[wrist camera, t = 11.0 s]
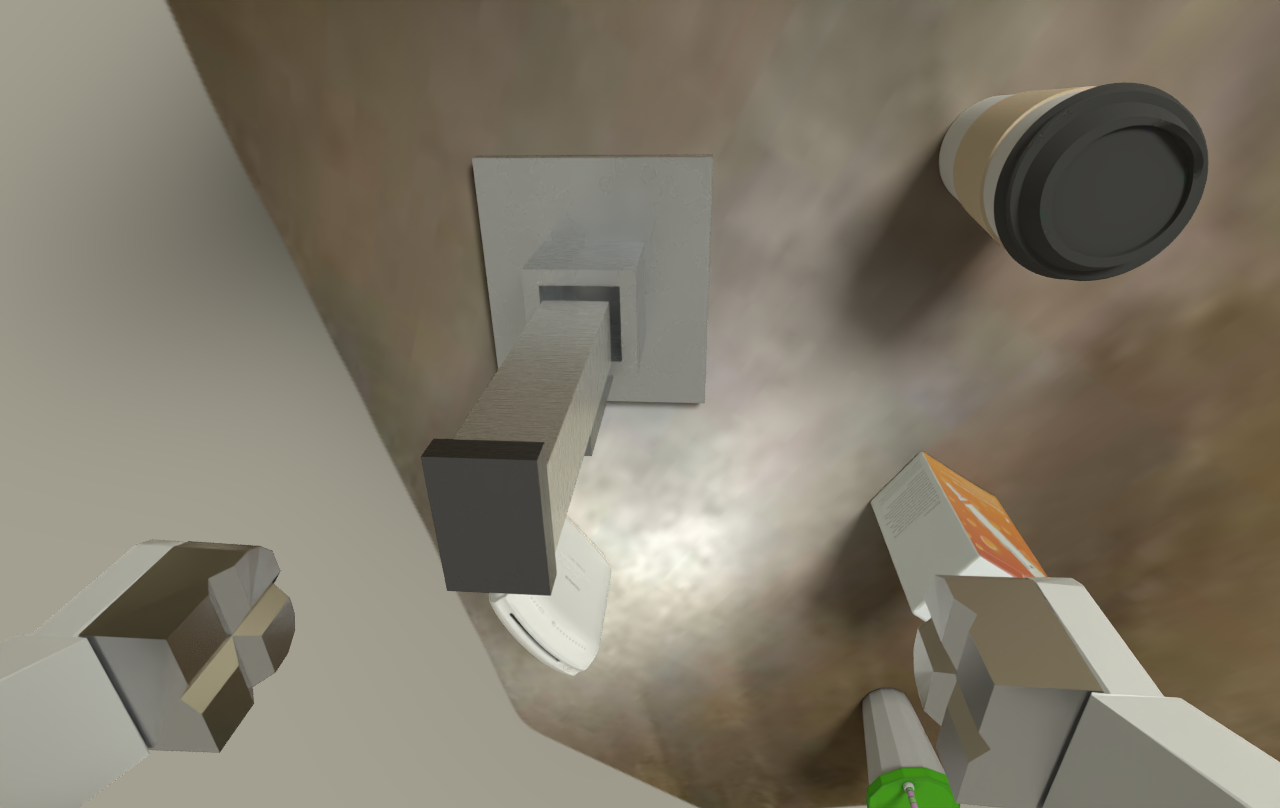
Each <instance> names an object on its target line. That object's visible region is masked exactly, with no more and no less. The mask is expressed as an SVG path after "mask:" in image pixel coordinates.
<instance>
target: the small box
mask: <svg viewBox="0 0 1280 808" xmlns="http://www.w3.org/2000/svg"><path fill="white" fill-rule="evenodd" d="M871 505H872V508H873V510H874V513H875V516H876V518H877V521H878V524H879V526H880V529H881V532H882V534H883V537H884V540H885V542H886V545H887V548H888V550H889V553H890V556H891V558H892V561H893V564H894V566H895V569H896V571H897V574H898V577H899V579H900V582H901V585H902V587H903V590H904V592H905V595H906V598H907V601H908V603H909V606H910V608H911V611H912V613H913V614H914V615H915V616H917V617H919V618H920V619H922V620H924V621H925V622H926V621H928V620H929V619H930V618H931V615H930V612H929V610H928V607H927V605H926V602H925V597H926V593H927V589H928V585H929V583H930V581H931V580H932V578H933V577H934V575H960V576H988V577H1016V578H1025V577H1047V575H1046V574H1045V572H1044V571H1043V569H1042V568H1041V566H1040V564H1039V563H1038V561H1037V560H1036V558H1035V557H1034V555H1033V553H1032V552H1031V550H1030V549H1029V547H1028V546H1027V544H1026V543H1025V541H1024V540H1023V538H1022V537H1021V535H1020V534H1019V532H1018V531H1017V529H1016V528H1015V526H1014V525H1013V523H1012V522H1011V520H1010V518H1009V517H1008V515H1007V514H1006V512H1005V511H1004V509H1003V508H1002V506H1001V505H1000V503H999V502H998V500H997V499H996V497H994V496H993V495H991V494H989V493H987V492H985V491H984V490H982V489H980V488H979V487H977V486H975V485H974V484H972V483H971V482H969V481H967V480H966V479H964V478H963V477H961V476H959V475H958V474H956V473H955V472H953V471H952V470H950V469H948V468H947V467H945V466H944V465H942V464H941V463H939V462H938V461H936V460H935V459H933V458H932V457H930V456H929V455H927V454H926V453H924V452H919V453H918V455H917V456H916V457H915V458H914V459H913V460H912V461H911V462H910V463H909V464H908V465H907V466H906V467H905V468H904V469H903V470H902V471H901V472H900V473H899V474H898V475H897V476H896V477H895V478H894V479H893V480H891V481H890V482H889V483H888V484H887V485H886V486H885V487H884V488H883V489H882V490H881V491H880V492H879V493H878V495H876V496H875V497H874V499H873V500H872V501H871ZM1047 578H1048V577H1047Z"/></svg>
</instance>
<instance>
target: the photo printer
mask: <svg viewBox="0 0 1280 808" xmlns="http://www.w3.org/2000/svg"><path fill="white" fill-rule="evenodd" d="M555 559H556V569H557V575H556V579H555V583H554V586H553V590H552V593H551V596H545V595H524V594H504V593H489V602H490V604H491V606H492V608H493V610H494V612H495V613H496V615H497V617H498V618H499V619H500V621H501V622H502V624H503V625H504V626H505V627H506V629H507V630H508V631H509V632H510V633H511V635H512V636H513V637H514V638H515V639H516V640H517V641H518V642H519V643H520V644H521V645H522V646H523V647H524V648H525V649H526V650H527V651H529V652H530V653H531V654H532V655H533V656H535V657H536V658H537V659H538V660H540V661H541V662H543V663H544V664H546V665H547V666H549V667H551V668H553V669H554V670H557V671H559V672H561V673H564V674H567V675H570V676H574V675H576V674H577V673H578V672H580V671H584V670H586V669H587V668H588V666H589V665H590V664H591V663H592V661H593V659H594V658H595V656H596V654H597V652H598V649H599V646H600V640H601V633H602V628H603V622H604V615H605V610H606V602H607V597H608V591H609V585H610V578H611V566H610V564H609V562H608V561H607V559H606V558H605V557H604V556H603V554H602V553H601V552H600V551H599V550H598V549H597V548H596V547H595V546H594V544H593V543H592V542H591V541H590V540H589V539H588V538H587V537H586V536H585V535H584V534H583V533H582V532H581V531H580V530H579V529H578V528H577V527H576V526H575V525H574V524H573V523H572V522H571V521H570V520H569V519H568V518H567V517H566V518H565V522H564V525H563V529H562V532H561V535H560V539H559V542H558V546H557V549H556V552H555Z"/></svg>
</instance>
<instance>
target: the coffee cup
mask: <svg viewBox="0 0 1280 808" xmlns="http://www.w3.org/2000/svg"><path fill="white" fill-rule="evenodd" d="M939 170H940V175H941V178H942V181H943V183H944V185H945V187H946V188H947V190H948V191H949V192H950V193H951V194H952V195H953V196H954V197H955V198H956V199H957V200H958V201H959V202H960V203H961V205H962V206H963V208H964V209H965V210H966V211H967V212H968V213H969V214H970V215H971V216H972V217H973V218H974V219H975V220H976V221H977V222H978V223H979V224H980V225H981V226H982V227H983V228H984V229H985V230H986V231H987V232H988V233H989V235H990V236H991V237H992V238H993V239H994V240H995V241H996V242H997V243H998V244H1000V245H1001V246H1002V247H1003V248H1004V249H1006V250H1007V252H1008V253H1009V254H1010V255H1011V257H1012V258H1013V259H1014V260H1015V261H1017V262H1018V263H1019V264H1020V265H1022V266H1023V267H1025V268H1026V269H1028V270H1030V271H1032V272H1034V273H1036V274H1039V275H1042V276H1045V277H1050V278H1055V279H1068V280H1076V281H1092V280H1100V279H1106V278H1110V277H1114V276H1117V275H1120V274H1123V273H1126V272H1128V271H1130V270H1133V269H1135V268H1137V267H1139V266H1141V265H1142V264H1144V263H1146V262H1147V261H1149V260H1150V259H1152V258H1153V257H1155V256H1156V255H1158V254H1159V253H1160V252H1161V251H1163V250H1164V249H1165V248H1166V247H1167V246H1168V245H1169V244H1170V243H1171V242H1172V241H1173V240H1174V239H1175V238H1176V237H1177V236H1178V235H1179V234H1180V233H1181V231H1182V230H1183V229H1184V228H1185V226H1186V225H1187V223H1188V222H1189V220H1190V219H1191V217H1192V216H1193V214H1194V212H1195V210H1196V208H1197V206H1198V204H1199V202H1200V200H1201V197H1202V194H1203V191H1204V188H1205V184H1206V180H1207V174H1208V150H1207V145H1206V141H1205V137H1204V134H1203V132H1202V130H1201V128H1200V126H1199V124H1198V122H1197V121H1196V119H1195V118H1194V116H1193V115H1192V114H1191V113H1190V112H1189V111H1188V110H1187V109H1186V108H1185V107H1184V106H1183V105H1182V104H1181V103H1180V102H1179V101H1178V100H1176V99H1175V98H1174V97H1173V96H1171V95H1170V94H1168V93H1166V92H1164V91H1162V90H1160V89H1158V88H1155V87H1152V86H1148V85H1144V84H1137V83H1113V84H1107V85H1102V86H1094V87H1078V88H1065V89H1053V90H1040V91H1029V92H1023V93H1019V94H1015V95H999V96H994V97H990V98H986V99H984V100H981V101H979V102H977V103H975V104H974V105H972V106H970V107H969V108H968V109H966V110H965V111H964V112H963V113H962V114H961V115H960V116H959V117H958V118H957V119H956V120H955V121H954V122H953V124H952V125H951V126H950V128H949V129H948V131H947V133H946V135H945V137H944V139H943V142H942V145H941V149H940V154H939Z"/></svg>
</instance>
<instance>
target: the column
mask: <svg viewBox="0 0 1280 808" xmlns="http://www.w3.org/2000/svg"><path fill="white" fill-rule="evenodd" d="M610 366H611V339H610V313H609V301H544V300H543V301H542V302H541V304H540V306H539V307H538V309H537V310H536V312H535V313H534V315H533V316H532V318H531V319H530V321H529V323H528V324H527V326H526V327H525V329H524V330H523V332H522V333H521V335H520V336H519V338H518V340H517V341H516V343H515V344H514V346H513V347H512V349H511V350H510V352H509V353H508V355H507V357H506V358H505V360H504V361H503V363H502V364H501V366H500V367H499V369H498V370H497V372H496V374H495V375H494V377H493V378H492V380H491V381H490V383H489V384H488V386H487V387H486V389H485V391H484V392H483V394H482V395H481V397H480V398H479V400H478V401H477V403H476V404H475V406H474V408H473V409H472V411H471V412H470V414H469V415H468V417H467V418H466V420H465V421H464V423H463V425H462V426H461V428H460V429H459V431H458V432H457V434H456V435H455V437H454V438H453V439H433V440H432V442H431V443H430V444H429V446H428V447H427V449H426V450H425V452H424V453H423V454H422V456H421V460H422V465H423V470H424V475H425V480H426V485H427V490H428V495H429V501H430V506H431V511H432V516H433V521H434V526H435V531H436V536H437V541H438V546H439V552H440V557H441V562H442V567H443V572H444V577H445V582H446V587H447V591H462V592H483V593H504V594H524V595H545V596H551V593H552V590H553V586H554V583H555V579H556V575H557V569H556V559H555V552H556V549H557V546H558V542H559V539H560V535H561V532H562V529H563V525H564V522H565V518H566V515H567V512H568V508H569V505H570V502H571V498H572V495H573V491H574V488H575V485H576V481H577V478H578V474H579V471H580V468H581V464H582V461H583V457H584V454H585V451H586V447H587V444H588V441H589V437H590V434H591V430H592V427H593V424H594V420H595V417H596V413H597V410H598V407H599V403H600V400H601V396H602V393H603V390H604V386H605V383H606V380H607V376H608V373H609V369H610Z"/></svg>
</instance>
